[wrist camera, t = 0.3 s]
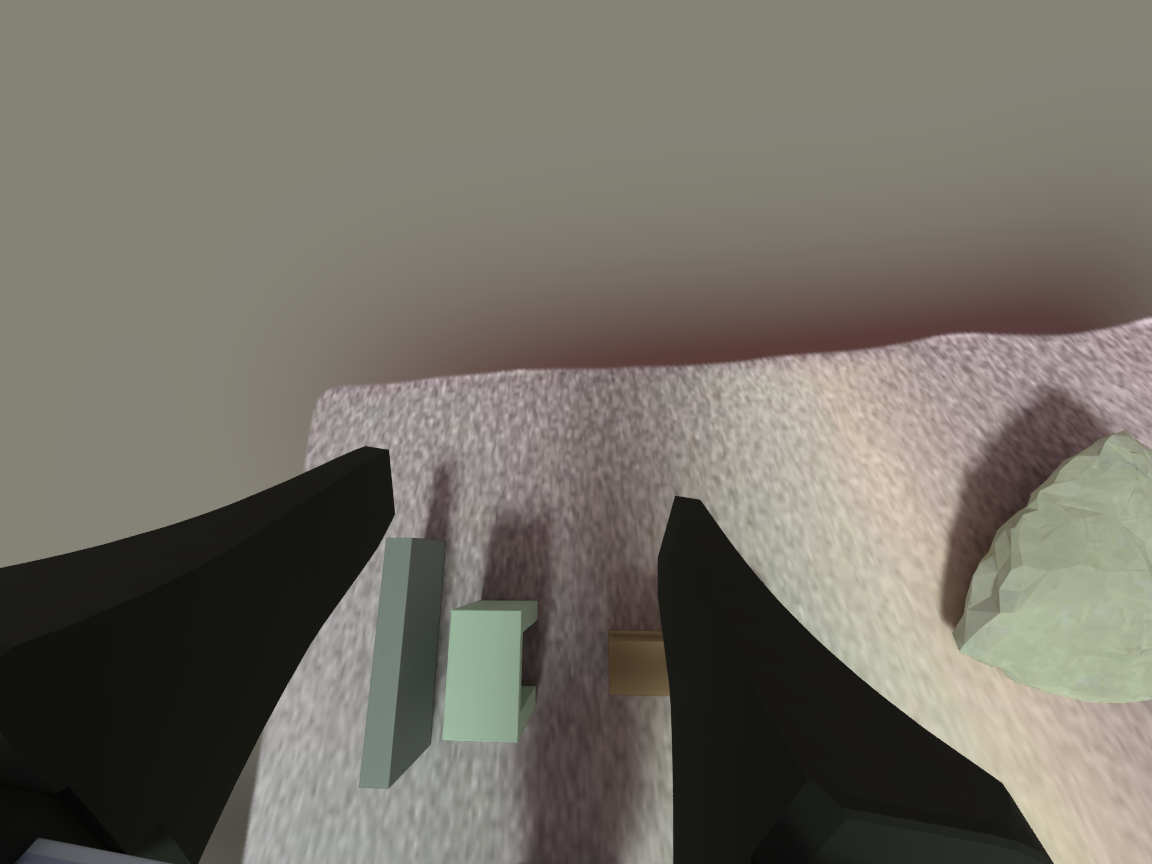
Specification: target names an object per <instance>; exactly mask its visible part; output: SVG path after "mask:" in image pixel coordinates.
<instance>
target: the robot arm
mask: <svg viewBox="0 0 1152 864" xmlns="http://www.w3.org/2000/svg"><path fill="white" fill-rule="evenodd" d="M394 515H395V509H394V498H393V487H392V477H391V466H390V456H389V450H386V449H380V448H374V447H367V446H365V447H362V448H359V449H356V450H354V451H352V452H349V453H347V454H345V455H342V456H340V457H338V458H336V459H334V460H331V461H329V462H327V463H325V464H323V465H321V466H318V467H316V468H314V469H312V470H310V471H307V472H305V473H303V474H301V475H299V476H296V477H294V478H292V479H290V480H288V481H285V482H283V483H281V484H278V485H276V486H274V487H271V488H269V489H267V490H264V491H262V492H259V493H257V494H255V495H252V496H250V497H247V498H245V499H242V500H240V501H238V502H235V503H233V504H230V505H228V506H225V507H222V508H219V509H217V510H214V511H211V512H208V513H206V514H203V515H200V516H197V517H194V518H191V519H188V520H185V521H182V522H179V523H176V524H173V525H170V526H166V527H163V528H160V529H156V530H153V531H149V532H146V533H142V534H139V535H135V536H132V537H128V538H125V539H121V540H118V541H114V542H111V543H107V544H104V545H100V546H96V547H92V548H88V549H83V550H79V551H75V552H71V553H67V554H63V555H59V556H54V557H50V558H45V559H41V560H36V561H32V562H27V563H22V564H18V565H13V566H8V567H4V568H0V864H198V863H199V861H200V858H201V856H202V854H203V852H204V850H205V847H206V845H207V843H208V840H209V839H210V837H211V834H212V832H213V830H214V828H215V826H216V824H217V822H218V820H219V817H220V815H221V813H222V811H223V809H224V807H225V805H226V803H227V801H228V798H229V796H230V794H231V792H232V790H233V788H234V786H235V784H236V782H237V780H238V778H239V776H240V774H241V772H242V770H243V768H244V766H245V764H246V762H247V760H248V758H249V756H250V754H251V752H252V750H253V748H254V746H255V744H256V742H257V740H258V738H259V736H260V734H261V732H262V730H263V729H264V727H265V725H266V723H267V721H268V719H269V717H270V716H271V714H272V712H273V710H274V708H275V706H276V705H277V703H278V701H279V699H280V697H281V695H282V693H283V692H284V690H285V688H286V686H287V684H288V682H289V681H290V679H291V677H292V676H293V674H294V672H295V670H296V669H297V667H298V665H299V663H300V662H301V660H302V658H303V656H304V655H305V653H306V651H307V649H308V648H309V646H310V644H311V643H312V641H313V640H314V638H315V637H316V635H317V633H318V632H319V630H320V629H321V627H322V626H323V624H324V623H325V622H326V620H327V619H328V617H329V616H330V615H331V613H332V612H333V610H334V609H335V608H336V606H337V605H338V603H339V602H340V601H341V599H342V598H343V596H344V595H345V594H346V592H347V591H348V589H349V588H350V587H351V585H352V584H353V582H354V581H355V580H356V578H357V577H358V575H359V574H360V573H361V571H362V570H363V568H364V567H365V565H366V564H367V563H368V561H369V560H370V558H371V557H372V555H373V554H374V552H375V551H376V549H377V548H378V546H379V544H380V542H381V541H382V539H383V537H384V535H385V533H386V531H387V529H388V527H389V525H390V523H391V521H392V519H393V517H394ZM658 601H659V609H660V618H661V626H662V634H663V641H664V649H665V657H666V665H667V673H668V681H669V690H670V702H671V727H672V763H673V864H1054V863H1053V862H1052V860H1051V859H1050V857H1049V855H1048V854H1047V852H1046V851H1045V849H1044V848H1043V846H1042V844H1041V843H1040V841H1039V840H1038V838H1037V836H1036V835H1035V833H1034V832H1033V830H1032V829H1031V827H1030V825H1029V824H1028V822H1027V821H1026V819H1025V817H1024V816H1023V814H1022V813H1021V811H1020V810H1019V808H1018V806H1017V805H1016V803H1015V802H1014V800H1013V799H1012V797H1011V795H1010V794H1009V792H1008V791H1007V789H1006V788H1005V787H1004V785H1003V784H1002V783H1001V782H1000V781H999V780H997V779H996V778H994V777H993V776H991V775H990V774H989V773H987V772H986V771H984V770H983V769H981V768H980V767H979V766H977V765H976V764H974V763H973V762H971V761H970V760H969V759H967V758H966V757H964V756H963V755H961V754H960V753H959V752H957V751H956V750H954V749H953V748H951V747H950V746H949V745H947V744H946V743H944V742H943V741H941V740H940V739H939V738H937V737H936V736H934V735H933V734H931V733H930V732H929V731H927V730H926V729H925V728H923V727H922V726H921V725H919V724H918V723H917V722H915V721H914V720H913V719H911V718H910V717H909V716H908V715H906V714H905V713H904V712H902V711H901V710H900V709H898V708H897V707H896V706H895V705H893V704H892V703H891V702H889V701H888V700H887V699H886V698H884V697H883V696H882V695H880V694H879V693H878V692H877V691H876V690H874V689H873V688H872V687H871V686H869V685H868V684H867V683H866V682H865V681H863V680H862V679H861V678H860V677H859V676H857V675H856V674H855V673H854V672H853V671H852V670H851V669H849V668H848V667H847V666H846V665H845V664H844V663H843V662H841V661H840V660H839V659H838V658H837V657H836V656H835V655H833V654H832V653H831V652H830V651H829V650H828V649H827V648H826V647H825V646H823V645H822V644H821V643H820V642H819V641H818V640H817V639H816V638H815V637H814V636H813V635H812V634H811V633H810V632H809V631H808V630H807V629H806V628H805V627H804V626H803V625H802V624H801V623H800V622H799V621H798V620H797V619H796V618H795V617H794V616H793V615H792V614H791V613H790V612H789V611H788V610H787V609H786V608H785V607H784V606H783V605H782V604H781V603H780V602H779V601H778V599H777V598H776V597H775V596H774V595H773V594H772V593H771V592H770V590H769V589H768V588H767V587H766V586H765V585H764V583H763V582H762V581H761V580H760V579H759V578H758V576H757V575H756V574H755V573H754V572H753V570H752V569H751V568H750V567H749V565H748V564H747V563H746V562H745V560H744V559H743V558H742V557H741V555H740V554H739V553H738V551H737V550H736V549H735V548H734V546H733V545H732V544H731V542H730V541H729V539H728V538H727V537H726V535H725V534H724V533H723V531H722V530H721V528H720V527H719V526H718V524H717V523H716V521H715V520H714V518H713V517H712V516H711V514H710V513H709V511H708V510H707V509H706V507H705V506H704V504H703V503H702V502H701V500H698V499H692V498H686V497H680V496H675V499H674V502H673V506H672V509H671V513H670V516H669V520H668V523H667V527H666V531H665V534H664V538H663V541H662V545H661V548H660V552H659V555H658Z"/></svg>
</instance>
